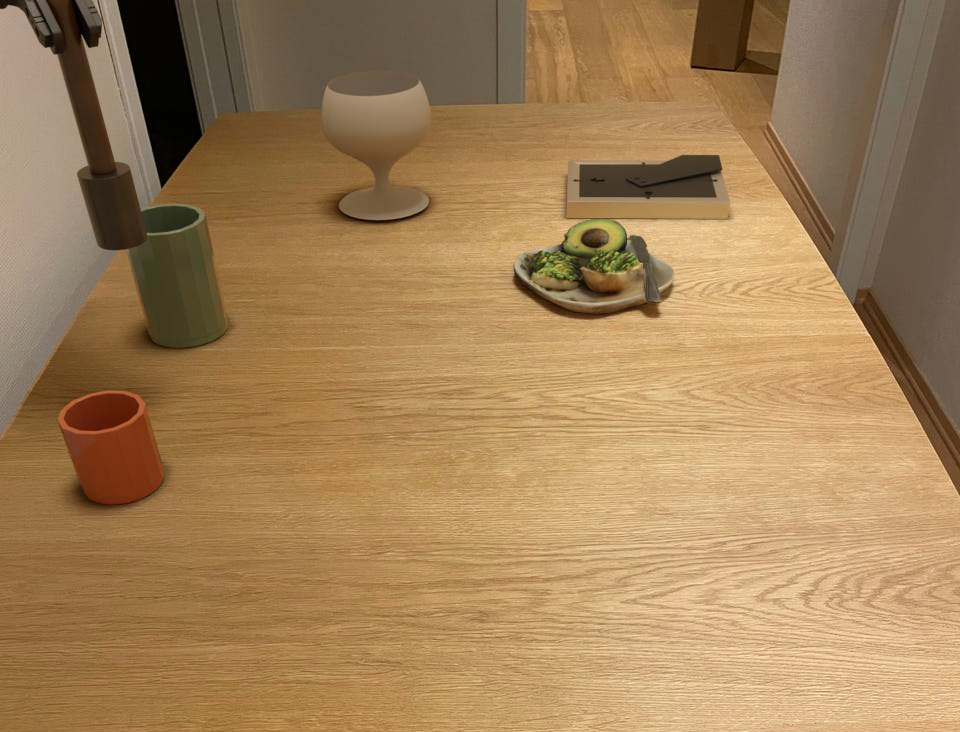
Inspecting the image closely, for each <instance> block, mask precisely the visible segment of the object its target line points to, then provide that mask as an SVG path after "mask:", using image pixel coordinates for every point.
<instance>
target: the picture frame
mask: <svg viewBox="0 0 960 732" xmlns="http://www.w3.org/2000/svg"><path fill="white" fill-rule="evenodd" d="M722 171H723V166H722V161H721V157H720V154H681V155H679V156H676V157H673V158H671V159H669V160H613V159H611V160H602V159H601V160H599V159H597V160H595V159H594V160H588V159H587V160H583V159H582V160H579V159H578V160H574V159H571V160H569V159H568V160H567V181H566V182H567V185H566V211H565V212H566V213H565V218H566V219H601V218H602V219H605V218H606V219H672V220H673V219H675V220H677V219H680V220H682V219H684V220H685V219H686V220H687V219H688V220H689V219H692V220H693V219H695V220H698V219H702V220H706V219H707V220H728V219H729V213H730V206H731V200H730V197H729V194H728V190H727V186H726V184H725V180H724V179H725V178H724V176H723V173H722Z"/></svg>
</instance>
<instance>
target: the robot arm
mask: <svg viewBox="0 0 960 732" xmlns="http://www.w3.org/2000/svg"><path fill="white" fill-rule="evenodd" d="M72 1H73V5H74V8H75V12H76V16H77V20H78V24H79V27H80V31H81V35H82V39H83V41H84V42H85V45H86V47H87V48H88V49H91V48H92V49H93V48H98V47H99V42H100V39H102V31H103V22H102V17H101V16H100V13H99V11H98V9H97V7H96V5H95V3H94V1H93V0H72ZM8 6H11V7H16V8H18V9H19V10H20V11H21V12H23V13H24V15H25V17H26V19H27V21H28V23H29V25H30V26H31V29H32V30H33V33H34V34H35V36H36V39H37V41H38V42H39V44H40V45H41V46H42V47H43V48H44V49H47V48H49V49H50V50H51V53H52V54H53V55H54V56H55V55H57V54H61V53H64V37H63V34H62V31H61V29H60V27H59V25H58V23H57V21H56V19H55V17H54V15H53V13H52V11H51V9H50V7H49V5H48V3H47V1H46V0H0V10H4V9H7V8H8Z"/></svg>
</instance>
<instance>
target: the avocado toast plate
mask: <svg viewBox="0 0 960 732" xmlns="http://www.w3.org/2000/svg"><path fill="white" fill-rule="evenodd" d="M627 233H628V232H627V231H626V228H625V227H624V226H623V225H622V224H621V223H620V222H618V221H616V220H614V219H611V218H590V219H586V220H584V221H581V222H578V223H576V224H574V225H572V226H571V227H569V228H568V230H567V231H566V232H565V233H564V234H563V236H564V240H563V241H562V242H561V243H560V244H556V245H550V246H545V247H540V248H536V249H535V248H534V249H531V250H528V251H524V252H523V253H521V254H519V255H517V257H516V258H515V261H514V263H513V266H512V267H513V273H514V275H515V278H516V279H517V280H518V282H519V283H520V284H521V285H522V286H524V287H525V288H527V289H530V290H531V291H532V292H534V293H535V294H536V295H537V296H538V297H541V298H543V299H544V300H547V301H548V302H550V303H553V304H554V305H556V306H559V307H561V308H563V309H565V310H567V311H569V312H574V313H575V312H576V313H582V314H591V315H593V314H594V315H602V314H611V313H616V312H619V311H622V310H625V309H628V308H632V307H637V306H642V305H645V304H646V303H648V304H654V305H657V304H661V303H662V302H663V299H662V295H661V293H663V292H664V291H666V290H667V289H669V288H670V287H671V285H672V283H673V281H674V279H675V274H676V271H675V269H674V268H673V267H672V266H671V265H670V264H668V263H666V262H664V261H663V260H661V259H659V258H657V256H654V255H652V254H651V253H650V252H649V250H648V249H647V248H648V244H647V242H646V241H645V239H644V238H643V237H642V236H641V235H635V234H629V236H628V234H627Z"/></svg>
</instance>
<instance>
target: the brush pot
mask: <svg viewBox="0 0 960 732" xmlns="http://www.w3.org/2000/svg"><path fill="white" fill-rule="evenodd" d="M57 423H58V426H59V429H60V431H61V435H62V437H63V440H64V442H65V445H66V448H67V451H68V455H69V457H70V460H71V463H72V465H73V469H74V471H75V473H76V477H77V478H78V482H79V485H80V487H81V489H82V491H83V493H84V495H85V496H86V498H88V499H89V500H91V501H93V502H95V503H97V504H98V503H99V504H103V505H122V504H127V503H132V502H136V501H139V500H141V499H143V498H146V497H148V496H149V495H151V494H152V493H154V492H156V491H157V489H158V488H159V487H160V486H161V485H162V484H163V482H164V479H165V471H164V464H163V461H162V457H161V454H160V450H159V446H158V443H157V439H156V435H155V432H154V429H153V426H152V422H151V419H150V415H149V412H148V408H147V404H146V402H145V401H144V399H143V398H142V397H141V396H140V395H138V394H136V393H134V392H130V391H128V390H113V389H111V390H110V389H109V390H102V391H97V392H91V393H88V394H85V395H83V396H81V397H78V398H76V399H74V400H72V401H70V402H69V403H68V404H67V405H66V406H65V407H63V408H62V409H61V410H60V412H59V414H58V417H57Z"/></svg>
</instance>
